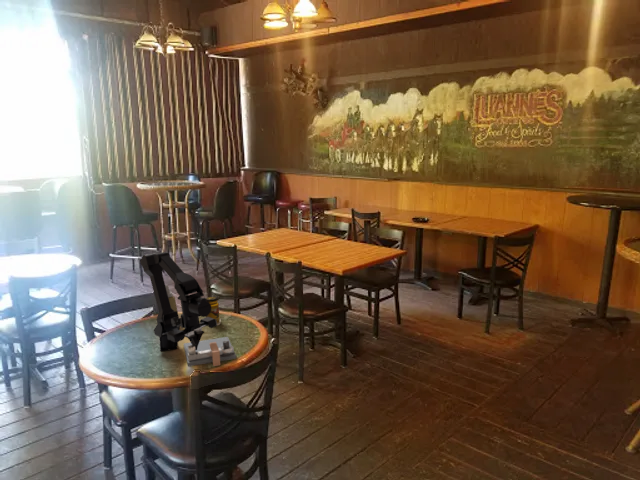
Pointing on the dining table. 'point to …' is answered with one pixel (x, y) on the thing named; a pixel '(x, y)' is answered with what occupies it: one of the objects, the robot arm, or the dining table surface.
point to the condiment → (214, 309)
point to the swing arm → (209, 351)
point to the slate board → (206, 346)
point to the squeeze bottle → (171, 299)
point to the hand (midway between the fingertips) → (195, 349)
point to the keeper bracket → (215, 353)
